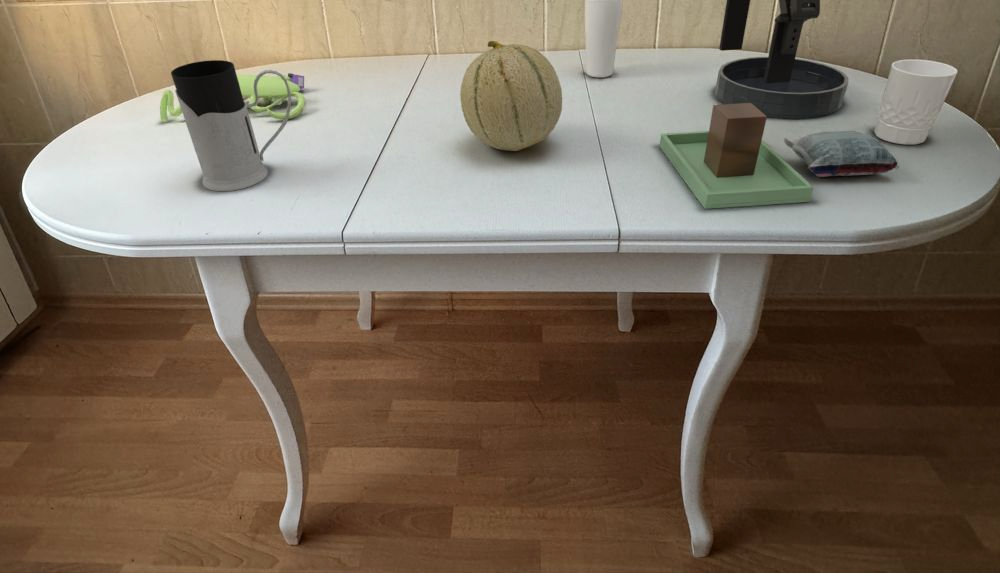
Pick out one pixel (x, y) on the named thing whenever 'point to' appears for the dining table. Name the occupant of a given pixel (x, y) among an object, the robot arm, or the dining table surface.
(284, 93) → the green coiled cable
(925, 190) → the dining table surface
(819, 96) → the pan
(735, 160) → the block
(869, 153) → the grey bean bag
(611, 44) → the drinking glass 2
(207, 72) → the glass holder
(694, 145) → the tray
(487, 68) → the cantaloupe
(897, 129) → the white cup
